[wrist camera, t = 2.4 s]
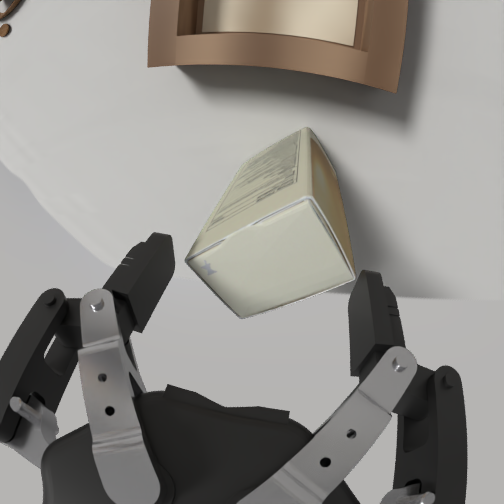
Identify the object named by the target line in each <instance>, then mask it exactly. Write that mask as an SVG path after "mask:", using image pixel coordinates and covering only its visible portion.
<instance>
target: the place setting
mask: <svg viewBox="0 0 504 504" xmlns="http://www.w3.org/2000/svg"><path fill="white" fill-rule="evenodd" d="M0 1H2V0H0ZM19 2H20V0H14V1H13V3H12V4H11V6H10V7H9V8H8V9H7V10H6V12H5V13H0V19H2V18H4V17H5V16H7V15H8V14H9V13H10V12H11V11H12V10H13V9H14V8H15V7H16V6H17V5H18V3H19ZM8 31H9V25H8V24H3V25H2V26H1V28H0V36H1V37H4V36H5V35H6V34H7V33H8Z"/></svg>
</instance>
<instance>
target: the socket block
mask: <svg viewBox="0 0 504 504" xmlns="http://www.w3.org/2000/svg"><path fill="white" fill-rule="evenodd" d="M407 12H408V0H151V7H150V19H149V36H148V67H159V66H173V65H198V64H220V65H246V66H260V67H271V68H280V69H288V70H295V71H302V72H308V73H314V74H320V75H325V76H330V77H335V78H340V79H344V80H349V81H353V82H357V83H361V84H365V85H368V86H372V87H376V88H379V89H382V90H386V91H389V92H392V93H395V94H396V92H397V87H398V81H399V76H400V69H401V63H402V56H403V49H404V41H405V33H406V23H407Z"/></svg>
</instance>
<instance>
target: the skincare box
mask: <svg viewBox="0 0 504 504" xmlns="http://www.w3.org/2000/svg"><path fill="white" fill-rule="evenodd" d="M185 263H186V264H187V265H188V266H189V267H190V268H191V269H192V270H193V271H194V272H195V273H196V275H197V276H198V277H199V278H200V279H201V280H202V281H203V282H204V283H205V284H206V285H207V287H208V288H209V289H210V290H211V291H212V292H213V293H214V294H215V295H216V296H217V297H218V298H219V299H220V300H221V301H222V302H223V303H224V304H225V305H226V306H227V307H228V308H229V309H230V310H231V311H233V313H235V314H236V315H237V316H238V317H239V318H240V319H245V318H248V317H253V316H256V315H259V314H263V313H266V312H270V311H273V310H276V309H279V308H282V307H285V306H288V305H291V304H294V303H297V302H299V301H302V300H305V299H308V298H310V297H314V296H316V295H319V294H321V293H324V292H327V291H329V290H331V289H334V288H337V287H339V286H341V285H344V284H346V283H349V282H351V281H354V280H355V279H356V273H355V267H354V261H353V255H352V249H351V243H350V237H349V232H348V227H347V222H346V217H345V212H344V207H343V202H342V198H341V193H340V189H339V185H338V181H337V176H336V172H335V170H334V168H333V166H332V164H331V162H330V161H329V159H328V157H327V155H326V153H325V152H324V150H323V148H322V146H321V145H320V143H319V141H318V140H317V138H316V137H315V135H314V133H313V132H312V130H311V129H310V128H309V127H306V128H304V129H302V130H300V131H298V132H296V133H294V134H292V135H290V136H288V137H286V138H285V139H283V140H281V141H279V142H277V143H276V144H274V145H272V146H271V147H269V148H267V149H266V150H264V151H262V152H261V153H259V154H258V155H256V156H255V157H253V158H252V159H250V160H249V161H247V162H246V163H244V164H243V165H242V166H241V168H240V169H239V171H238V172H237V174H236V176H235V177H234V179H233V180H232V182H231V184H230V185H229V187H228V188H227V190H226V191H225V193H224V195H223V196H222V198H221V199H220V201H219V203H218V204H217V206H216V208H215V209H214V211H213V212H212V214H211V216H210V217H209V219H208V221H207V222H206V224H205V226H204V227H203V229H202V231H201V232H200V234H199V236H198V238H197V239H196V241H195V243H194V244H193V246H192V248H191V250H190V251H189V253H188V255H187V256H186V258H185Z"/></svg>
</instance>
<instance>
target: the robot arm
mask: <svg viewBox="0 0 504 504" xmlns="http://www.w3.org/2000/svg"><path fill="white" fill-rule="evenodd" d="M174 270H175V258H174V250H173V242H172V237H171V235H168V234H162V233H156V232H154V233H152V234H151V236H150V237H149V238H148V240H147V241H146V242H140V243H139V244H137V245H136V246H134V247H133V248H132V249H131V250H130V251H129V252H128V254H127V255H126V257H125V258H124V259H123V260H122V262H121V264H119V266H118V267H117V268H116V270H115V271H114V273H113V274H112V275H111V276H110V278H109V279H108V281H107V282H106V283H105V285H104V286H103V288H102V289H94V290H92V291H90V292H88V293H87V294H86V295H84V297H83V298H81V299H80V298H66V297H65V295H64V293H63V292H62V291H61V290H60V289H56V288H53V289H49V290H47V291H45V292H44V293H42V294H41V296H40V297H39V299H38V300H37V301H36V303H35V304H34V305H33V307H32V308H31V310H30V312H29V313H28V315H27V316H26V318H25V319H24V321H23V322H22V324H21V325H20V327H19V329H18V330H17V332H16V334H15V336H14V337H13V339H12V340H11V342H10V344H9V346H8V348H7V349H6V351H5V353H4V355H3V356H2V358H1V360H0V443H2V444H4V445H6V446H8V447H10V448H12V449H14V450H15V451H16V452H18V453H19V454H20V455H22V456H23V457H25V458H26V459H27V460H28V461H30V462H31V463H33V464H34V465H35V466H37V467H38V468H40V469H41V475H42V481H43V504H360V502H359V501H358V500H357V498H356V497H355V495H354V494H353V493H352V491H351V490H350V488H349V487H348V485H347V484H346V482H345V481H344V478H345V477H346V476H347V475H348V474H349V473H350V472H351V471H352V469H353V468H354V467H355V466H356V465H357V464H358V462H359V461H360V460H361V459H362V458H363V456H364V455H365V454H366V453H367V451H368V450H369V449H370V448H371V446H372V445H373V444H374V443H375V441H376V440H377V439H378V437H379V436H380V435H381V433H382V432H383V430H384V429H385V427H386V426H387V425H388V423H389V422H390V420H391V418H392V415H391V412H393V413H396V414H398V425H397V429H398V430H397V448H396V462H395V473H394V482H393V490H391V491H390V492H388V493H387V494H386V495H385V496H384V498H383V499H382V501H381V503H380V504H465V498H466V485H467V428H466V415H465V405H464V396H463V388H462V382H461V378H460V376H459V374H458V373H457V371H456V370H455V369H453V368H452V367H450V366H441V367H439V368H438V369H437V370H436V371H433V370H430V369H428V368H425V367H423V366H420V365H418V364H417V362H416V359H415V357H414V355H413V354H412V353H411V352H410V351H409V350H407V349H406V347H405V341H404V335H403V330H402V325H401V320H400V317H399V310H398V309H397V308H398V306H397V301H396V297H395V295H394V294H393V292H392V291H391V289H390V288H389V287H386V286H383V281H382V277H381V274H380V273H378V272H372V271H367V270H362V271H361V273H360V275H359V278H358V280H357V282H356V285H355V287H354V289H353V291H352V293H351V296H350V299H349V305H348V314H349V315H348V316H349V333H350V334H349V335H350V368H351V369H350V371H351V376H357V377H359V384H358V385H357V387H356V388H355V389H354V390H353V391H352V392H351V394H350V395H349V396H348V397H347V398H346V399H345V400H344V402H343V403H342V404H341V405H340V406H339V407H338V408H337V409H336V410H335V412H334V413H333V414H332V415H331V416H330V417H329V418H328V419H327V420H326V421H325V422H324V423H323V424H322V425H321V426H320V427H319V428H318V429H317V430H316V431H315V432H314V433H313V434H312V433H311V432H310V431H309V430H308V429H307V428H305V427H304V426H303V425H301V424H300V423H298V422H296V421H294V420H292V419H290V418H289V412H290V411H285V410H278V409H271V408H265V407H259V406H257V407H224V406H221V405H219V404H217V403H215V402H213V401H211V400H209V399H207V398H206V397H204V396H202V395H200V394H198V393H196V392H193V391H189V390H185V389H182V388H178V387H175V386H172V385H169V384H167V387H166V390H165V391H153V392H147V391H146V388H145V386H144V383H143V381H142V379H141V376H140V373H139V369H138V366H137V362H136V358H135V355H134V351H133V347H132V343H131V339H130V335H131V333H132V331H137V332H140V333H142V332H143V330H144V328H145V326H146V324H147V322H148V321H149V319H150V317H151V315H152V313H153V311H154V309H155V307H156V305H157V303H158V302H159V300H160V298H161V296H162V294H163V292H164V290H165V289H166V287H167V285H168V283H169V281H170V280H171V278H172V276H173V273H174ZM54 335H55V336H56V338H55V340H54V342H53V344H52V345H51V347H50V349H49V351H48V353H47V355H46V357H45V359H44V353H45V351H46V349H47V347H48V345H49V343H50V341H51V339H52V338H53V336H54ZM78 361H79V369H80V376H81V384H82V390H83V396H84V400H85V406H86V411H87V416H88V421H89V423H88V424H86V425H84V426H82V427H80V428H78V429H76V430H74V431H72V432H70V433H68V434H66V435H64V436H62V437H60V438H59V439H56V435H57V434H58V432H59V428H58V426H57V420H56V417H55V413H56V410H57V408H58V405H59V403H60V400H61V398H62V396H63V393H64V391H65V389H66V387H67V384H68V382H69V380H70V378H71V376H72V373H73V371H74V369H75V367H76V365H77V362H78Z"/></svg>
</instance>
